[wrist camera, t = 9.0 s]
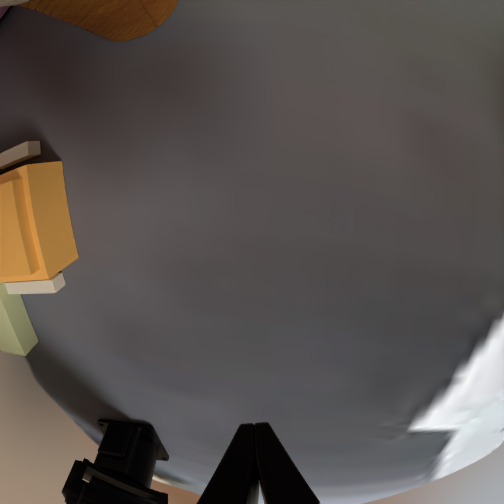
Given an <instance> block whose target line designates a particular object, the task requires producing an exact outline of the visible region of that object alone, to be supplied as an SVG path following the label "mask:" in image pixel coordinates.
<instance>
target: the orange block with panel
mask: <svg viewBox="0 0 504 504" xmlns="http://www.w3.org/2000/svg"><path fill="white" fill-rule="evenodd" d="M78 258H79V257H78V253H77V249H76V244H75V240H74V235H73V230H72V225H71V220H70V215H69V209H68V203H67V197H66V190H65V183H64V175H63V166H62V161H56V162H46V163H36V164H28V165H24V166H22V167H19V168H17V169H14V170H12V171H9V172H7V173H4V174H2V175H0V282H14V281H29V280H43V279H50V278H51V277H52V276H54V275H55V274H57V273H58V272H59V271H61V270H62V269H63V268H65V267H66V266H68V265H69V264H71V263H72V262H73V261H75V260H76V259H78Z"/></svg>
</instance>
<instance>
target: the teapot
mask: <svg viewBox="0 0 504 504" xmlns="http://www.w3.org/2000/svg"><path fill="white" fill-rule="evenodd" d="M9 7H10V6H3V7H0V19H1V18H2V16H3V15H4V14H5V12H6V11H7V10H8V8H9Z"/></svg>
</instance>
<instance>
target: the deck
mask: <svg viewBox="0 0 504 504" xmlns="http://www.w3.org/2000/svg"><path fill="white" fill-rule="evenodd" d="M40 154H41V150H40V141H26V142H24V143H22V144H20V145H17V146H15V147H13V148H11V149H9V150H7V151H4V152H2V153H0V170H2V169H5V168H7V167H9V166H12V165H14V164H16V163H19V162H21V161H24V160H26V159H29V158H32V157H34V156H37V155H40ZM65 285H66V284H65V281H64V277H63V274H62V273H57V274H55V275H54V276H52V277H51V278H50V279H43V280H29V281H14V282H0V352H6V353H11V354H17V355H23V356H26V355H27V354H28V353H29V352H30V350H31V349H32V348H33V347H34V346H35V345H36V344H37V343H38V342H39V341H38V338H37V336H36V334H35V331H34V329H33V326H32V324H31V322H30V319H29V316H28V314H27V311H26V309H25V306H24V303H23V300H22V297H21V294H38V293H56V292H57V291H59V290H60V289H61V288H62V287H63V286H65Z"/></svg>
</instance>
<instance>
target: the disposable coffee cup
mask: <svg viewBox="0 0 504 504" xmlns="http://www.w3.org/2000/svg"><path fill="white" fill-rule="evenodd" d="M177 2H178V0H0V7H3V6H11V5H20V6H21V7H25V8H27V7H28V9H32V10H36V11H37V12H40V13H42V12H43V13H44V14H47V15H50V16H52V17H57V19H61V20H63V21H66V22H69V23H71V24H74V25H76V26H78V27H81V28H83V29H86V30H88V31H91V32H93V33H96V34H97V35H100V36H102V37H104V38H106V39H109V40H112V41H126V40H131V39H134V38H138V37H140V36H143V35H145V34H147V33H149V32H151V31H152V30H154V29H155V28H157V27H158V26H159V25H161V24H162V23H163V22H164V21H165V20H166V19H167V18H168V17H169V16H170V15H171V13H172V12H173V11H174V9H175V7H176V5H177Z"/></svg>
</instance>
